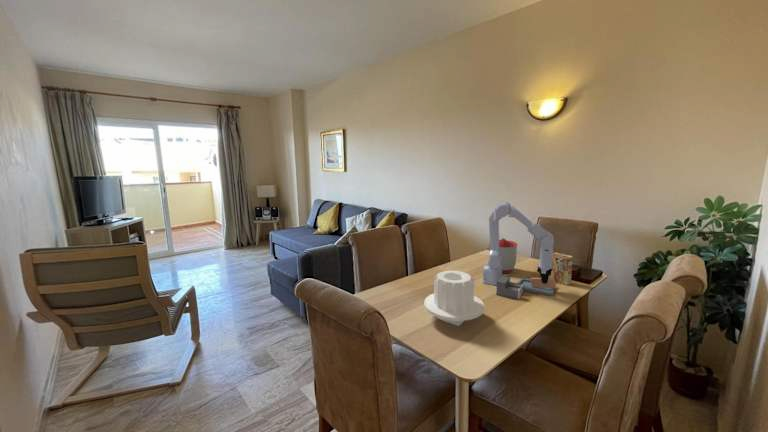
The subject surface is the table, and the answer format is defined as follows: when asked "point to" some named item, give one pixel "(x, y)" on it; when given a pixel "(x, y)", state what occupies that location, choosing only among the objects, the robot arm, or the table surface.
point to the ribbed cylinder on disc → (454, 298)
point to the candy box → (562, 268)
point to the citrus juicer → (507, 255)
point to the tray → (535, 288)
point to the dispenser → (508, 288)
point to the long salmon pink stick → (538, 283)
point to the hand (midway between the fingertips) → (544, 282)
